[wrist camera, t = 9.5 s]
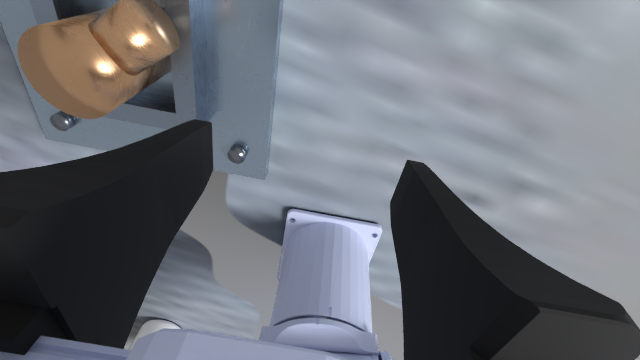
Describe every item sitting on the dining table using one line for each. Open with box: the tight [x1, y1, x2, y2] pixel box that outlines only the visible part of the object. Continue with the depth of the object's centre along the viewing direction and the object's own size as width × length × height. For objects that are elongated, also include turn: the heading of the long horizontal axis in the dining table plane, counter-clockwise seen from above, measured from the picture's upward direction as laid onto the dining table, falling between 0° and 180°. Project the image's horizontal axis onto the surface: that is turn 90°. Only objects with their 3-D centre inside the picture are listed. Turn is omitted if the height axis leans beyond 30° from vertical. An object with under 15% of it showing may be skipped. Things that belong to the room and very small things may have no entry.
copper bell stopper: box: [18, 0, 179, 119], centre depth 16 cm, size 6×4×6 cm, turn 117°
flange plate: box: [0, 0, 283, 180], centre depth 18 cm, size 16×16×3 cm
